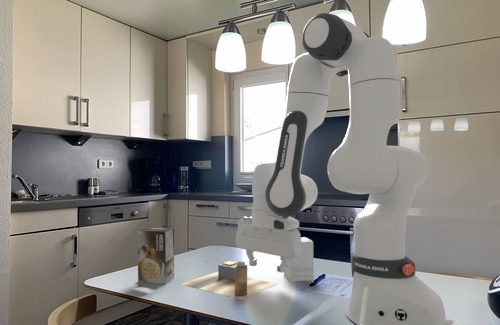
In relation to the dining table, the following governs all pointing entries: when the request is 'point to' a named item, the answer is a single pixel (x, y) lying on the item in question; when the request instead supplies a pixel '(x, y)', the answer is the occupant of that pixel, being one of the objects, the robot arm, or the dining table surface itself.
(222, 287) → the plywood board
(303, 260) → the supplement box
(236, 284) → the marker peg
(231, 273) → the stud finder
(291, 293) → the dining table surface
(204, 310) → the dining table surface
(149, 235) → the brown food box
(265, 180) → the robot arm
